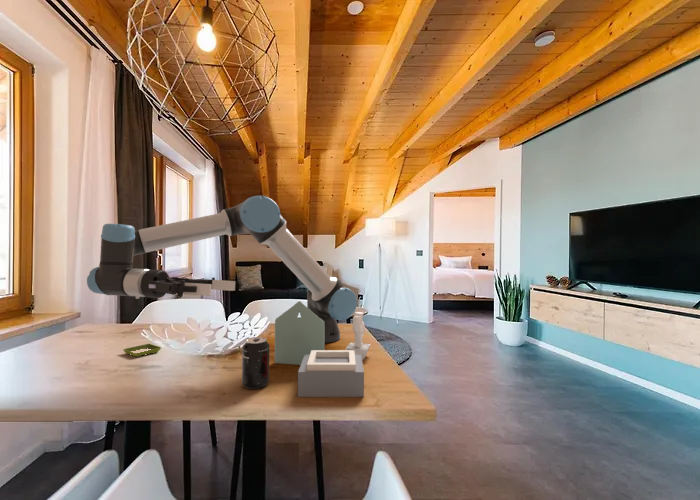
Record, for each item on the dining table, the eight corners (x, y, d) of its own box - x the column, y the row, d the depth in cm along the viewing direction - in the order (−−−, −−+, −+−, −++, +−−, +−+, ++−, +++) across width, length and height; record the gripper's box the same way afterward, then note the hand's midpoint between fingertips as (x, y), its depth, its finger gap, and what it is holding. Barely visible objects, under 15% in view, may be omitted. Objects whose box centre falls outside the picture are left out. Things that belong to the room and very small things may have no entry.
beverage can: (271, 380, 92) (271, 336, 92) (266, 390, 85) (266, 343, 85) (245, 380, 92) (245, 336, 92) (238, 391, 85) (239, 343, 85)
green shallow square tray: (161, 353, 117) (161, 347, 117) (134, 360, 110) (134, 353, 110) (149, 349, 122) (149, 343, 122) (122, 355, 114) (122, 349, 114)
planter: (330, 359, 111) (331, 298, 111) (324, 367, 103) (324, 302, 103) (284, 355, 114) (284, 297, 114) (274, 363, 106) (274, 300, 107)
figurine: (371, 353, 117) (371, 310, 117) (366, 362, 108) (366, 315, 108) (351, 352, 118) (351, 309, 118) (344, 360, 109) (344, 314, 109)
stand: (304, 375, 96) (304, 349, 96) (361, 375, 96) (361, 349, 96) (297, 396, 82) (298, 365, 82) (363, 396, 82) (364, 365, 82)
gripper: (175, 292, 104) (242, 297, 102) (110, 302, 79) (197, 308, 77) (177, 268, 104) (243, 272, 102) (113, 270, 79) (199, 275, 77)
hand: (223, 287), depth 90 cm, fingers open, 13 cm apart
